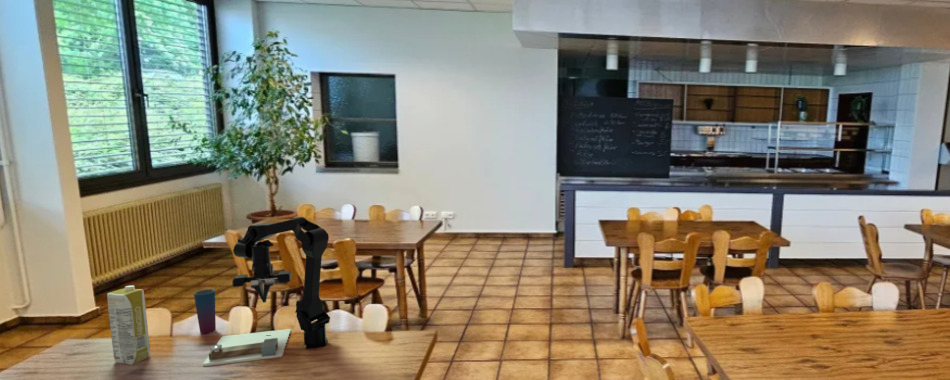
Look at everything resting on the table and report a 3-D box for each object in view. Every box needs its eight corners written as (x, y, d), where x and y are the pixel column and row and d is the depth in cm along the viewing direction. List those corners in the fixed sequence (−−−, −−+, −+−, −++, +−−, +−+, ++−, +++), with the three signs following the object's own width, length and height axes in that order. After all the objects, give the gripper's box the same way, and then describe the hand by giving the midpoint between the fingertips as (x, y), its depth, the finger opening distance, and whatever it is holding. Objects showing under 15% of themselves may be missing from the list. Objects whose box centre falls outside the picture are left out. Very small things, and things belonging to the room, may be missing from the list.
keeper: (278, 346, 164) (277, 337, 163) (275, 355, 157) (274, 345, 157) (265, 348, 163) (264, 339, 162) (261, 356, 156) (261, 347, 156)
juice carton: (154, 356, 161) (147, 284, 158) (131, 367, 154) (122, 292, 151) (134, 352, 164) (126, 282, 162) (110, 363, 157) (101, 289, 154)
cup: (209, 335, 177) (205, 295, 175) (192, 334, 178) (189, 294, 177) (222, 328, 184) (219, 289, 182) (206, 327, 185) (203, 288, 183)
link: (209, 359, 155) (208, 354, 155) (211, 354, 158) (211, 349, 158) (277, 350, 160) (276, 344, 160) (278, 345, 164) (277, 340, 164)
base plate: (291, 330, 179) (290, 319, 179) (282, 356, 158) (281, 343, 157) (222, 338, 174) (221, 326, 174) (203, 366, 153) (202, 353, 152)
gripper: (292, 251, 183) (295, 292, 185) (238, 256, 179) (241, 297, 181) (288, 258, 173) (291, 302, 174) (230, 263, 168) (234, 307, 170)
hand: (264, 302), depth 175 cm, fingers closed
